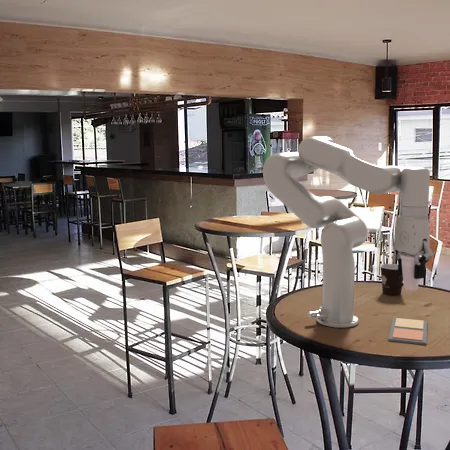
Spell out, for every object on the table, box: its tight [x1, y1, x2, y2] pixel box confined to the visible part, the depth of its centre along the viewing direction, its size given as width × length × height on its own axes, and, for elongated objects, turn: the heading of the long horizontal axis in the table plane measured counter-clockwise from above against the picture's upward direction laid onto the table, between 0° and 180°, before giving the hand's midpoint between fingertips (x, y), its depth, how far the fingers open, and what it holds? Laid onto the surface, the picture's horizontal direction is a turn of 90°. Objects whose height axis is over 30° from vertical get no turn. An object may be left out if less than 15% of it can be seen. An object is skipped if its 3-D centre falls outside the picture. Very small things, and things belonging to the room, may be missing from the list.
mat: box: [388, 317, 428, 346], centre depth 169 cm, size 20×10×1 cm, turn 160°
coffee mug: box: [380, 263, 404, 297], centre depth 208 cm, size 12×9×10 cm
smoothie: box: [400, 253, 422, 291], centre depth 162 cm, size 6×6×14 cm
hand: (411, 275), depth 162 cm, fingers closed on smoothie, 6 cm apart
